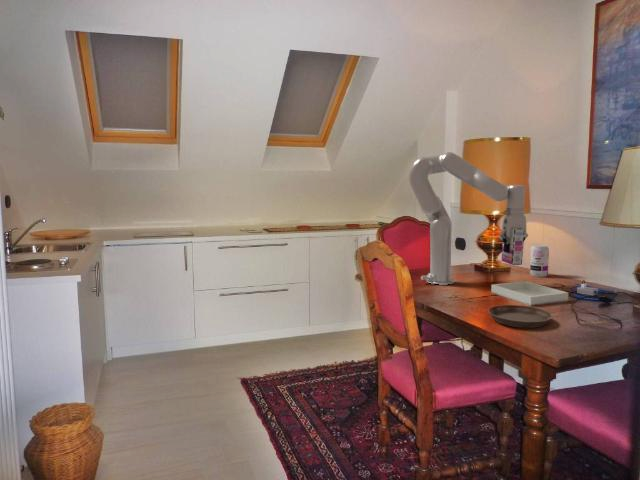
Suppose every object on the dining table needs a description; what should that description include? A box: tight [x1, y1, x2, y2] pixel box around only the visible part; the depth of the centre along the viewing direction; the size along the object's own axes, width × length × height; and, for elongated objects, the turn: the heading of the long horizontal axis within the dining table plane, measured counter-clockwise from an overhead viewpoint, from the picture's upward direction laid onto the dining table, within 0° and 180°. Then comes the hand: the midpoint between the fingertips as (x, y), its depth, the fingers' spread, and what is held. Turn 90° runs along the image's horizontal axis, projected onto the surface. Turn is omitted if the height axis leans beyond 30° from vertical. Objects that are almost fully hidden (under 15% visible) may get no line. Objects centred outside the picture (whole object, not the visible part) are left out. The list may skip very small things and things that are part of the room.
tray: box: [490, 280, 569, 307], centre depth 211 cm, size 18×24×4 cm
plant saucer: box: [488, 304, 553, 329], centre depth 178 cm, size 21×21×3 cm
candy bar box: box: [501, 228, 525, 266], centre depth 230 cm, size 11×5×16 cm, turn 5°
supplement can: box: [529, 244, 550, 278], centre depth 251 cm, size 8×8×15 cm
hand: (512, 251), depth 231 cm, fingers closed on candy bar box, 5 cm apart
